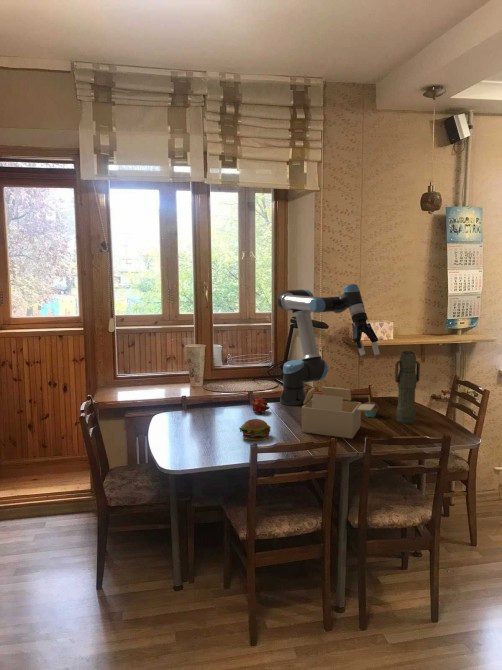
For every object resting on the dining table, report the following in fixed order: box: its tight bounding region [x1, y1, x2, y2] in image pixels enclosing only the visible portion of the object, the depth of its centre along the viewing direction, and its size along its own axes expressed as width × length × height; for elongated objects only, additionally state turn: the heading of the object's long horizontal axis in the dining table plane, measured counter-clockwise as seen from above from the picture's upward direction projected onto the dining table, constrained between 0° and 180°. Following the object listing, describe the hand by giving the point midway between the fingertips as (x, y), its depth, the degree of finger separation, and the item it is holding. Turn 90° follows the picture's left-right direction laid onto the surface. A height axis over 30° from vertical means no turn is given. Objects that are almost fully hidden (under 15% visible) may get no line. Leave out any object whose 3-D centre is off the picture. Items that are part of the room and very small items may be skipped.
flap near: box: [311, 393, 344, 411], centre depth 236 cm, size 14×1×6 cm, turn 66°
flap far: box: [321, 386, 352, 402], centre depth 251 cm, size 14×1×6 cm, turn 66°
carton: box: [301, 397, 362, 439], centre depth 245 cm, size 24×18×12 cm
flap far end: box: [357, 403, 375, 412], centre depth 238 cm, size 1×9×6 cm
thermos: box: [394, 350, 421, 425], centre depth 255 cm, size 9×12×35 cm
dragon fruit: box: [251, 397, 270, 415], centre depth 273 cm, size 8×8×12 cm
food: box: [238, 418, 271, 442], centre depth 237 cm, size 14×14×8 cm
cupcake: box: [363, 394, 380, 418], centre depth 265 cm, size 9×8×12 cm
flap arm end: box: [303, 386, 315, 405], centre depth 248 cm, size 1×9×6 cm, turn 158°
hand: (370, 354), depth 252 cm, fingers open, 13 cm apart
